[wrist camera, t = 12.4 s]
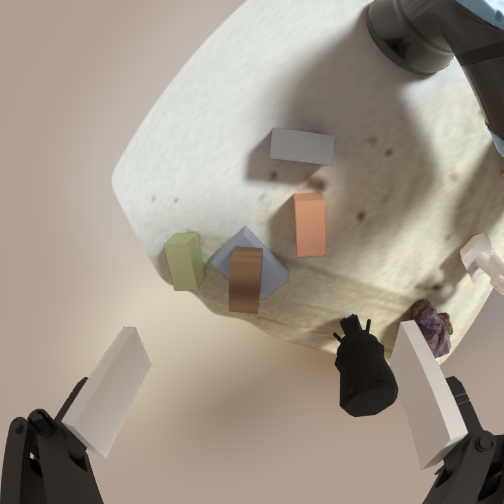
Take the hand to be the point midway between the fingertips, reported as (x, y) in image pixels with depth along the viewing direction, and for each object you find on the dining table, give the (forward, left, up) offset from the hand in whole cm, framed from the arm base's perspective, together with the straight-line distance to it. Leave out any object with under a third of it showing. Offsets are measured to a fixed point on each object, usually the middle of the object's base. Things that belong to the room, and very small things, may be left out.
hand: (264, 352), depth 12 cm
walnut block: (+10, -5, -27) cm, 29 cm away
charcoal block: (-8, +4, -31) cm, 32 cm away
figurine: (+10, +37, -31) cm, 49 cm away
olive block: (+8, -15, -31) cm, 35 cm away
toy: (+22, +12, -31) cm, 40 cm away
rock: (+25, +29, -31) cm, 49 cm away
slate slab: (+10, -5, -31) cm, 33 cm away
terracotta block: (+3, +4, -31) cm, 31 cm away
